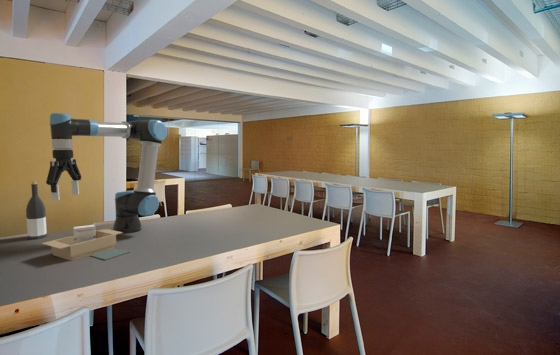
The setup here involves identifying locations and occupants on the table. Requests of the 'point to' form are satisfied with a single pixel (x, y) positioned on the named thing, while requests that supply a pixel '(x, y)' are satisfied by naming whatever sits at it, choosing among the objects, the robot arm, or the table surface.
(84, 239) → the ink box
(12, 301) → the table surface
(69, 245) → the tan shallow open box
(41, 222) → the wine bottle
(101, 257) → the mat
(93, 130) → the robot arm
